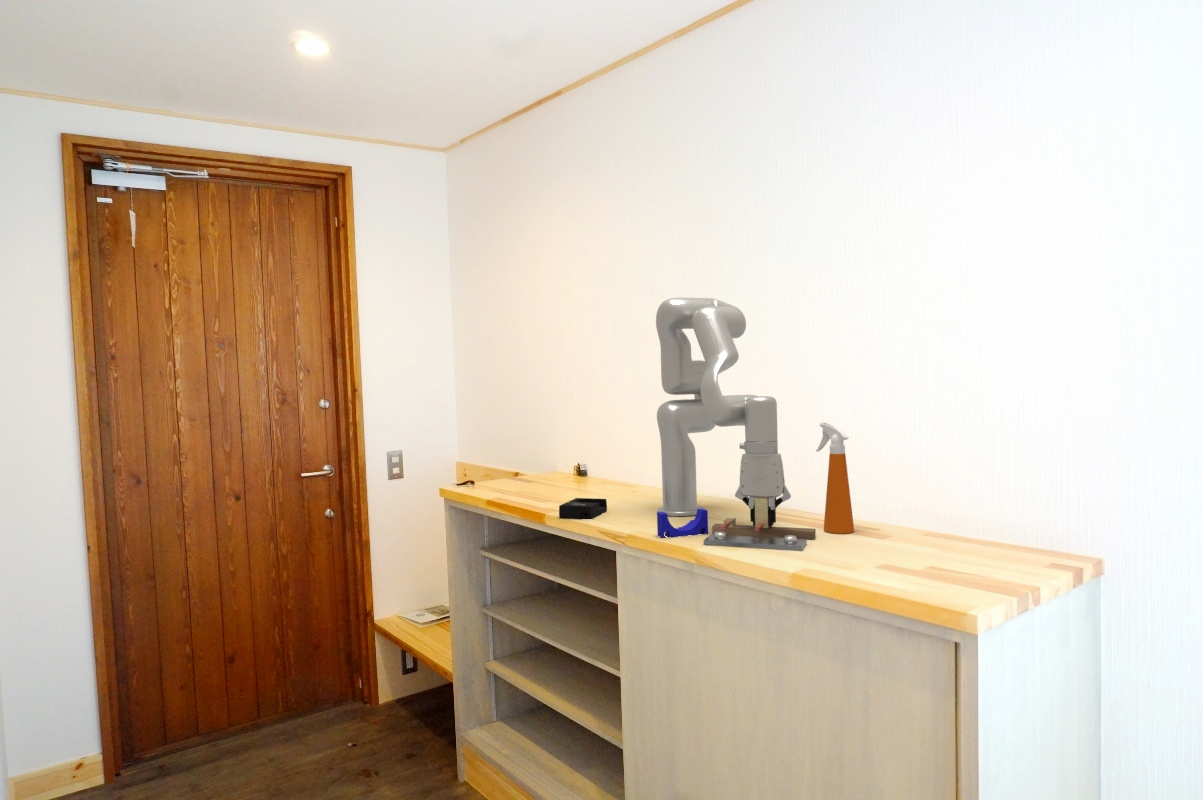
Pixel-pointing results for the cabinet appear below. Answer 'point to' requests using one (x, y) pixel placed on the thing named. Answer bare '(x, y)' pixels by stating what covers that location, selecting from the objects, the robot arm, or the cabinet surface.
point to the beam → (762, 530)
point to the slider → (761, 512)
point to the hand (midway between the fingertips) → (763, 524)
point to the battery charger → (582, 508)
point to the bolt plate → (756, 541)
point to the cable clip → (691, 528)
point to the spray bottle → (837, 483)
